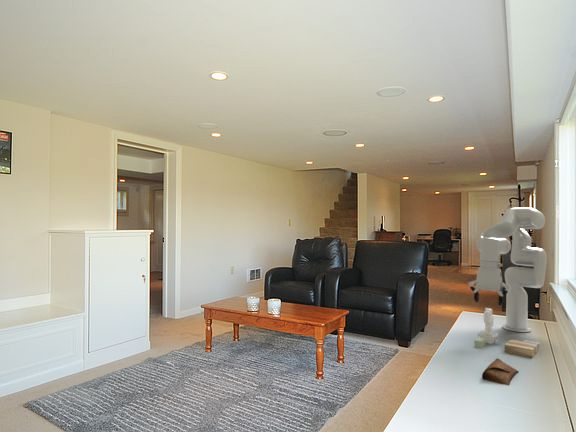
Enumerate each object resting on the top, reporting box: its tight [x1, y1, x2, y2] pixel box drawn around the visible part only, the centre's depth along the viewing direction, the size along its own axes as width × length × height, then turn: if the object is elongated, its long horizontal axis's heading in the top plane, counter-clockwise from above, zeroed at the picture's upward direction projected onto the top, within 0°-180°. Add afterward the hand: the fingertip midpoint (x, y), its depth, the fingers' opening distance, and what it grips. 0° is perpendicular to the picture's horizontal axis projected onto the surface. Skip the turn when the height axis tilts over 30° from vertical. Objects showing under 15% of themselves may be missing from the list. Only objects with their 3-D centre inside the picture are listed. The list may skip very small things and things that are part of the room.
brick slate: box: [522, 339, 541, 351], centre depth 172 cm, size 6×3×3 cm, turn 47°
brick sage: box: [473, 336, 487, 349], centre depth 174 cm, size 6×3×3 cm, turn 141°
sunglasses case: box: [481, 357, 519, 386], centre depth 140 cm, size 18×7×7 cm, turn 142°
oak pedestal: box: [504, 339, 538, 359], centre depth 167 cm, size 11×10×3 cm
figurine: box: [477, 307, 500, 345], centre depth 180 cm, size 7×9×15 cm
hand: (488, 303), depth 180 cm, fingers open, 9 cm apart
